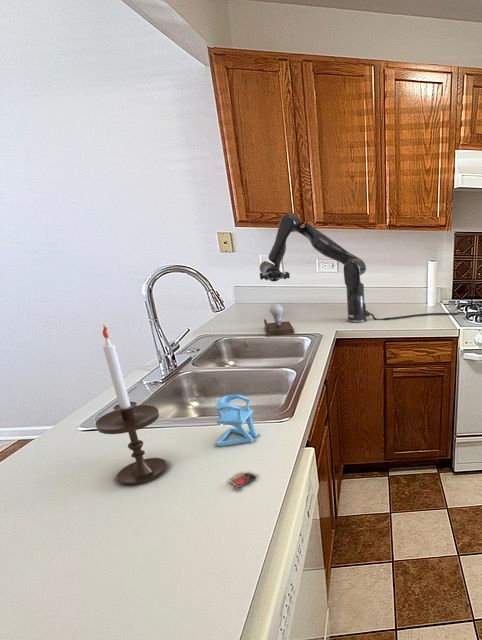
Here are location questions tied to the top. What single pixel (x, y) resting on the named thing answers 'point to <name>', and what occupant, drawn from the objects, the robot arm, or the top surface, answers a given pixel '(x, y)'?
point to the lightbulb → (276, 313)
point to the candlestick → (129, 425)
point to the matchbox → (242, 479)
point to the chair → (235, 420)
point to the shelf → (278, 328)
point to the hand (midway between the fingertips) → (276, 277)
